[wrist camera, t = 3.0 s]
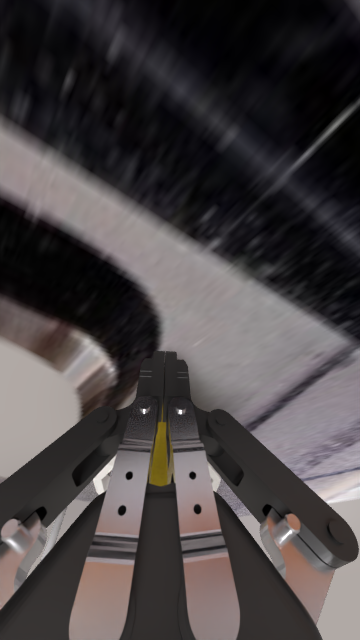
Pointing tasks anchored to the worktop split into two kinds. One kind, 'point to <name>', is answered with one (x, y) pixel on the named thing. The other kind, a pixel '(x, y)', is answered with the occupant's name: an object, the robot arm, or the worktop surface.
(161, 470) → the lemon
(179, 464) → the robot arm
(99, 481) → the white arc
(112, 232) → the worktop surface
